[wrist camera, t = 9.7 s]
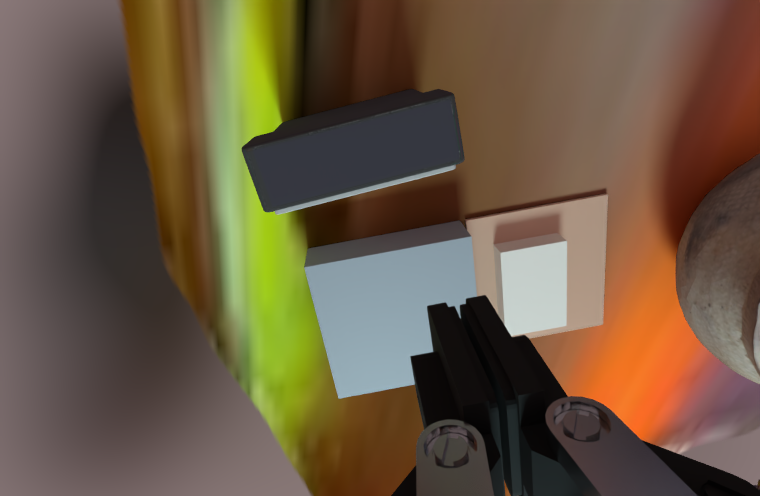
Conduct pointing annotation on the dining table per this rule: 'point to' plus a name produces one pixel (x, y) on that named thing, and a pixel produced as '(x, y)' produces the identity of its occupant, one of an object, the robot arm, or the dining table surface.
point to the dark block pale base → (355, 149)
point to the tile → (532, 283)
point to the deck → (386, 300)
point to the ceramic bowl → (725, 270)
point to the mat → (584, 252)
